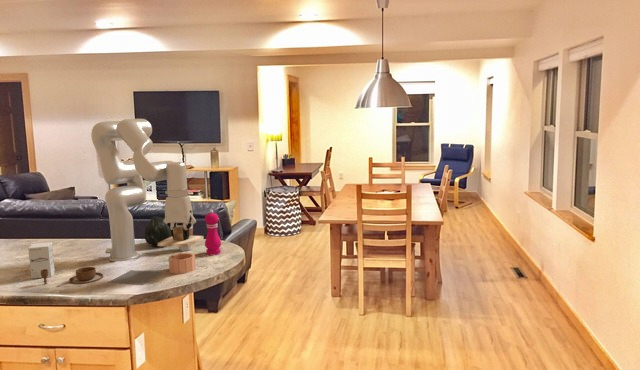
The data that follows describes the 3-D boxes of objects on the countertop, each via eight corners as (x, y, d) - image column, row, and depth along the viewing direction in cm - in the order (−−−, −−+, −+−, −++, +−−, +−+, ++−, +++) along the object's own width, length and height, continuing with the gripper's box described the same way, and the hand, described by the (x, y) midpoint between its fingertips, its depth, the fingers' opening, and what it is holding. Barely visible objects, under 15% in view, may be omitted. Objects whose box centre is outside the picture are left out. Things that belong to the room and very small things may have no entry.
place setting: (82, 290, 185) (80, 275, 184) (38, 286, 191) (36, 271, 190) (114, 275, 201) (113, 261, 201) (73, 272, 207) (72, 258, 206)
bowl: (164, 274, 200) (163, 259, 199) (177, 266, 210) (176, 252, 209) (187, 275, 198) (186, 260, 197) (199, 267, 207) (199, 253, 207)
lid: (157, 246, 197) (156, 230, 196) (174, 237, 210) (173, 223, 209) (188, 247, 194) (186, 231, 193) (203, 238, 207) (202, 223, 206)
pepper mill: (217, 255, 224) (215, 211, 221) (202, 255, 226) (200, 211, 223) (224, 251, 231) (222, 208, 228) (209, 250, 233) (207, 207, 230)
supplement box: (30, 279, 198) (27, 247, 196) (35, 273, 205) (32, 243, 203) (51, 277, 200) (48, 246, 198) (55, 271, 207) (52, 241, 205)
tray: (107, 284, 190) (106, 282, 190) (131, 271, 204) (130, 270, 204) (142, 286, 186) (142, 284, 186) (164, 273, 201) (164, 272, 201)
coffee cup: (178, 247, 240) (176, 216, 238) (196, 246, 241) (194, 215, 239) (174, 252, 232) (172, 220, 230) (193, 251, 232) (191, 219, 230)
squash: (186, 229, 252) (164, 208, 250) (174, 238, 237) (152, 215, 236) (166, 248, 254) (145, 226, 253) (154, 257, 240) (132, 235, 239)
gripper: (153, 195, 198) (157, 240, 200) (192, 195, 194) (195, 242, 196) (163, 192, 205) (167, 236, 207) (201, 192, 201) (204, 237, 203)
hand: (181, 238), depth 202 cm, fingers closed on lid, 4 cm apart
